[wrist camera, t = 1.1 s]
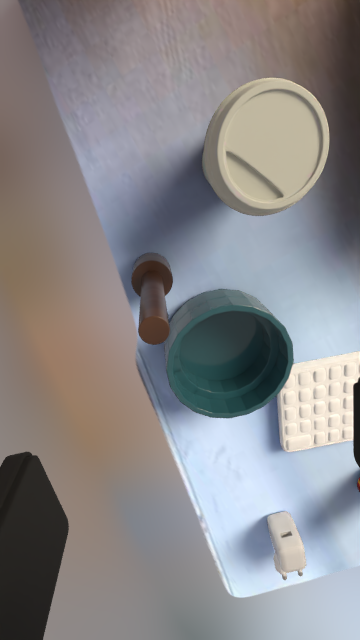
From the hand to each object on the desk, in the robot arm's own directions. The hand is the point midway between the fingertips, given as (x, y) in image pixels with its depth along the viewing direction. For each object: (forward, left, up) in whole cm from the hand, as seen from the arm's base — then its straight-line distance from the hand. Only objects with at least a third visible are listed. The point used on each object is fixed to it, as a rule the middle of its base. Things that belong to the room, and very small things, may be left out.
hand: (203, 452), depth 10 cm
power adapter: (+48, +9, -28) cm, 56 cm away
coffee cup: (-8, +9, -28) cm, 30 cm away
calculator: (+23, +21, -28) cm, 42 cm away
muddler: (+1, -1, -28) cm, 28 cm away
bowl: (+11, +5, -28) cm, 30 cm away
